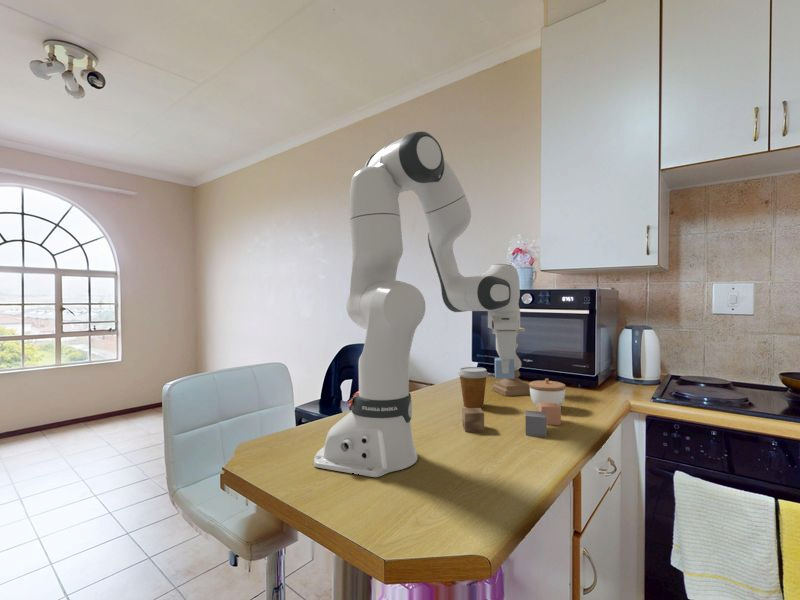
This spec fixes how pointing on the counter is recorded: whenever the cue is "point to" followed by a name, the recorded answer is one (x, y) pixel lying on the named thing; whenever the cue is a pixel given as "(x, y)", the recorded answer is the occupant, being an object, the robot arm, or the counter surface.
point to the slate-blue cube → (499, 369)
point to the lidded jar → (547, 391)
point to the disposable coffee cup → (473, 386)
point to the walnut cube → (473, 419)
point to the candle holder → (513, 385)
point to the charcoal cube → (536, 423)
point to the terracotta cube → (550, 412)
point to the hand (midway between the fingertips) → (504, 371)
